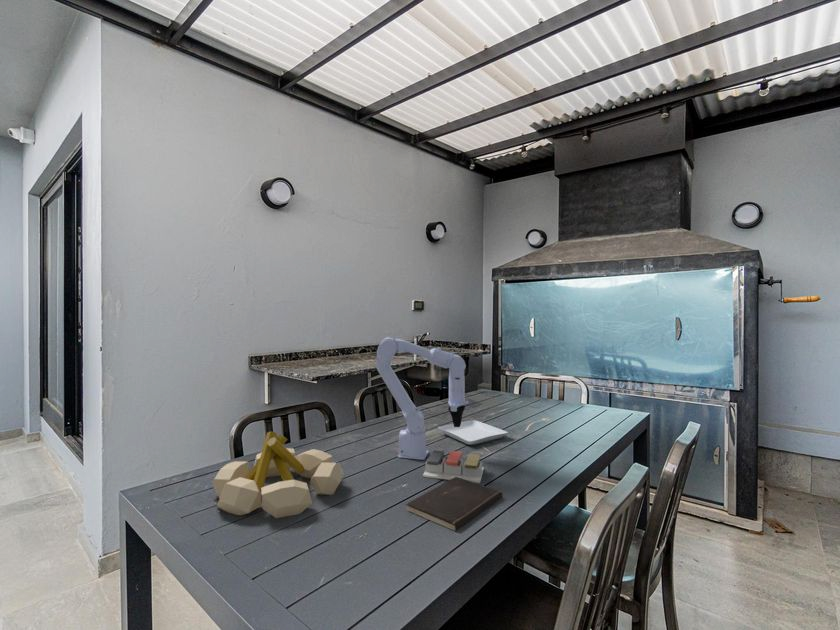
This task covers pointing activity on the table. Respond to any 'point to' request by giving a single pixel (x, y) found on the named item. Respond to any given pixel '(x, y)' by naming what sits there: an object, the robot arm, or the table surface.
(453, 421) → the robot arm
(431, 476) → the panel
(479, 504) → the hardcover book
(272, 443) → the campfire
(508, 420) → the table surface
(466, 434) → the salad plate
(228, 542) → the table surface
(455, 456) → the red plug
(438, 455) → the grey rectangular block
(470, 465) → the brass plug
